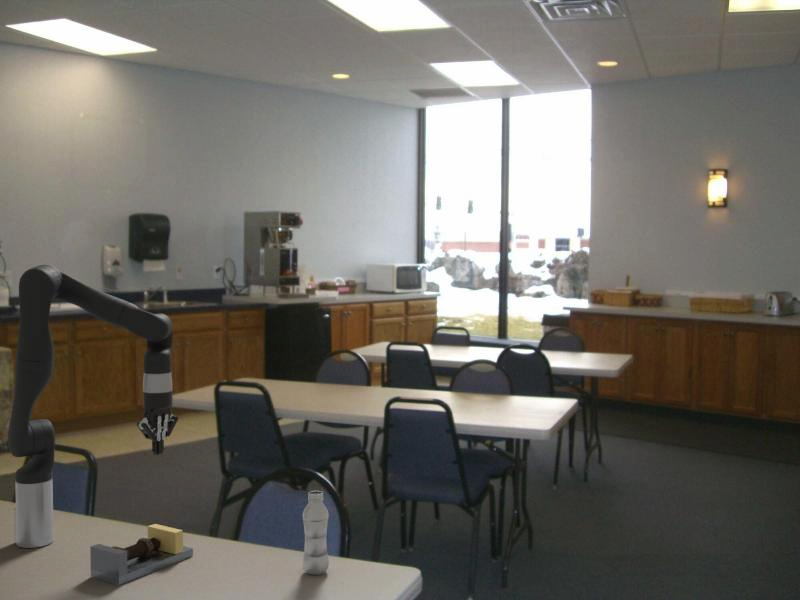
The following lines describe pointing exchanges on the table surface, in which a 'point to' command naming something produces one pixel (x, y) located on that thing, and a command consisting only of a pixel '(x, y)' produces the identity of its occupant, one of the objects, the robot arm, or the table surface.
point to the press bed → (129, 563)
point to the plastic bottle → (315, 534)
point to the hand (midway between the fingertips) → (158, 454)
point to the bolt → (141, 548)
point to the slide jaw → (167, 538)
